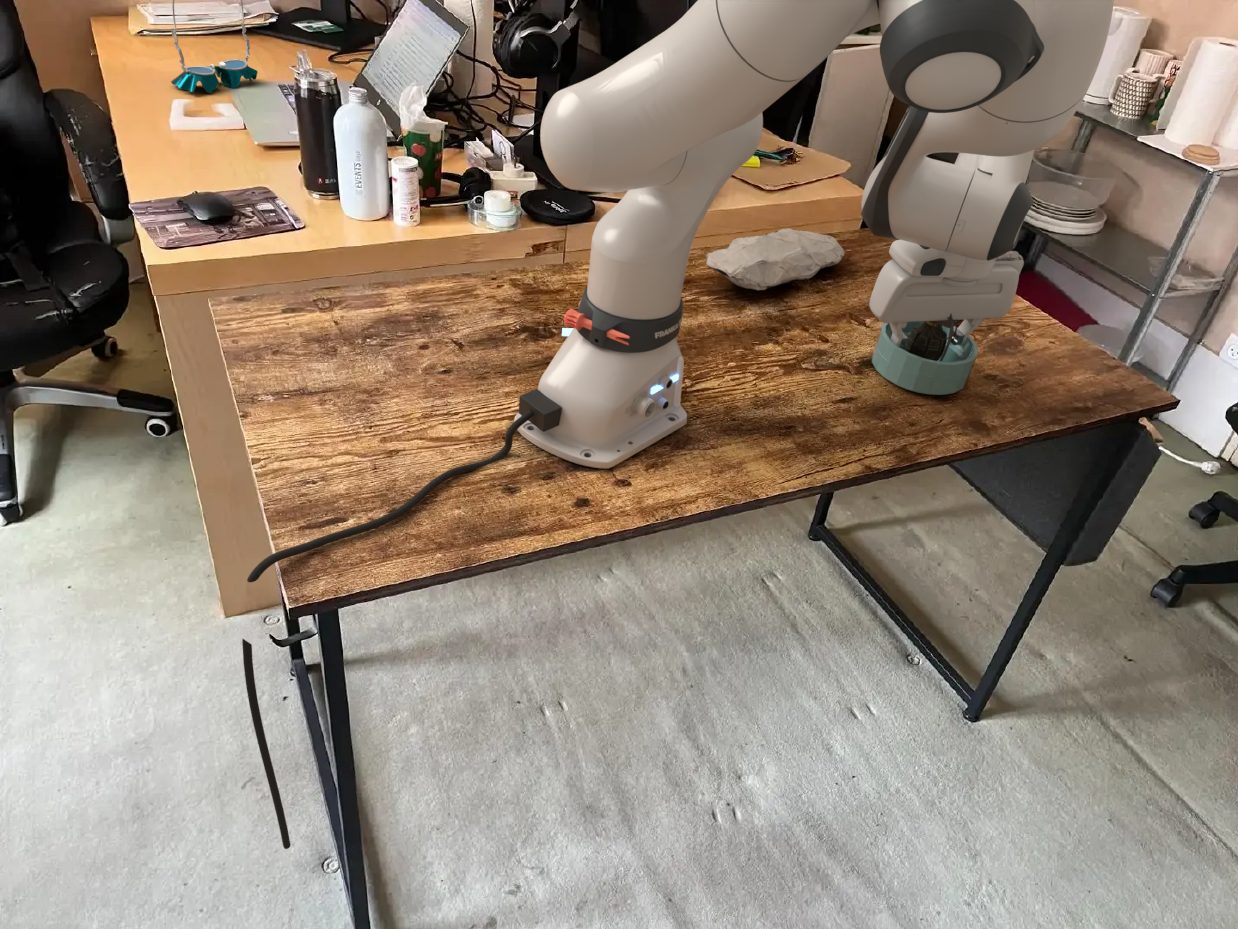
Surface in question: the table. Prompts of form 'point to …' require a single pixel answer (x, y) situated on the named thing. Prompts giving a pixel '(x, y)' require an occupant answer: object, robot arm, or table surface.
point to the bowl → (923, 364)
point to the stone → (775, 258)
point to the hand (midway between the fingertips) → (926, 344)
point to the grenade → (931, 339)
